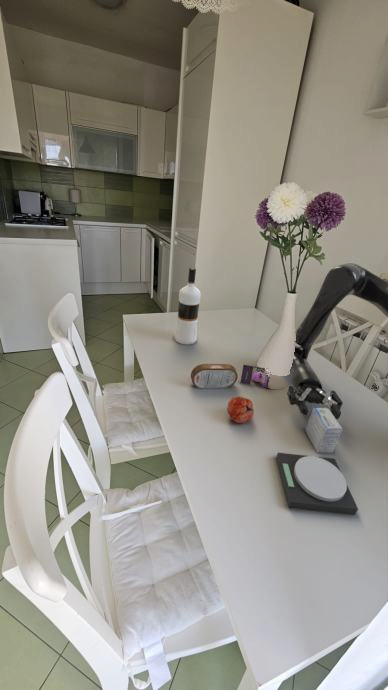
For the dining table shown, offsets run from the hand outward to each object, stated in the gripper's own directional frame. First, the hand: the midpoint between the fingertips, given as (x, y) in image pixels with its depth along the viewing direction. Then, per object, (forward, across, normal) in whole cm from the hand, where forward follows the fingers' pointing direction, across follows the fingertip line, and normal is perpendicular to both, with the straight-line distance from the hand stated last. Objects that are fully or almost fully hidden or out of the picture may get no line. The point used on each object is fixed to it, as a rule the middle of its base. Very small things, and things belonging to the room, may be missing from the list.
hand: (322, 415), depth 81 cm
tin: (-17, -28, +7) cm, 34 cm away
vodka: (-48, -39, +7) cm, 62 cm away
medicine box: (+3, 0, +7) cm, 8 cm away
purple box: (-22, -14, +7) cm, 27 cm away
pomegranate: (-3, -21, +7) cm, 22 cm away
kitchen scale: (+17, -6, +7) cm, 19 cm away
